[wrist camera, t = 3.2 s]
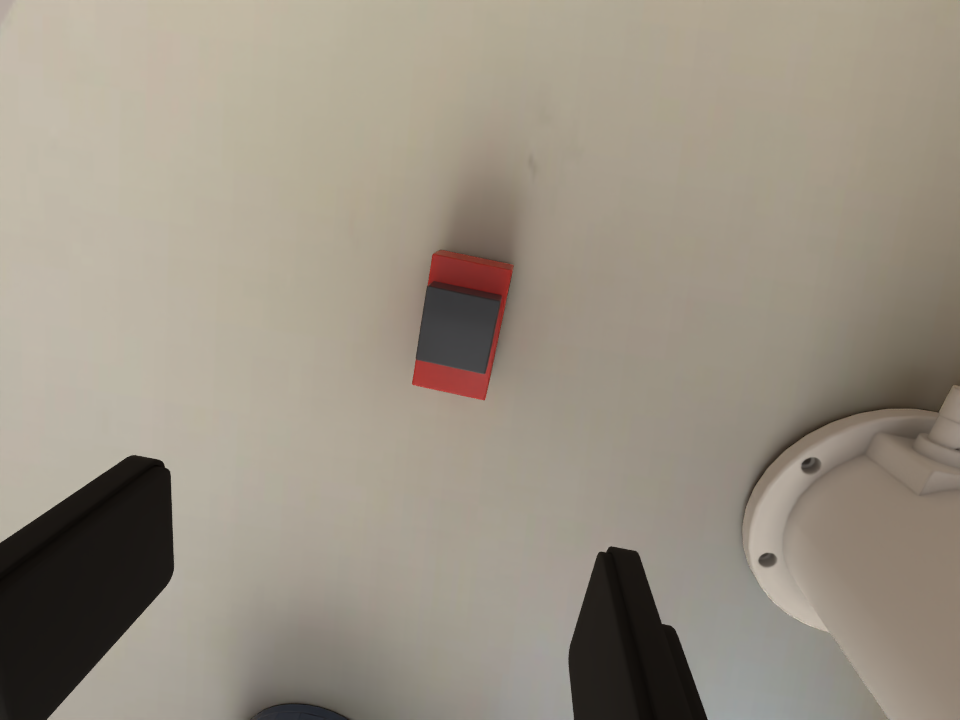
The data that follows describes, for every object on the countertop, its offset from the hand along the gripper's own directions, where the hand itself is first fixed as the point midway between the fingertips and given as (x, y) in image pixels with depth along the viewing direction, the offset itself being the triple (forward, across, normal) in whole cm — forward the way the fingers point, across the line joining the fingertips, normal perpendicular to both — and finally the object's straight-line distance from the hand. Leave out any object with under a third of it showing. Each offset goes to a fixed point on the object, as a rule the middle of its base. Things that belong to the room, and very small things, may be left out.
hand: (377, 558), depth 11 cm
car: (+15, 0, -2) cm, 15 cm away
